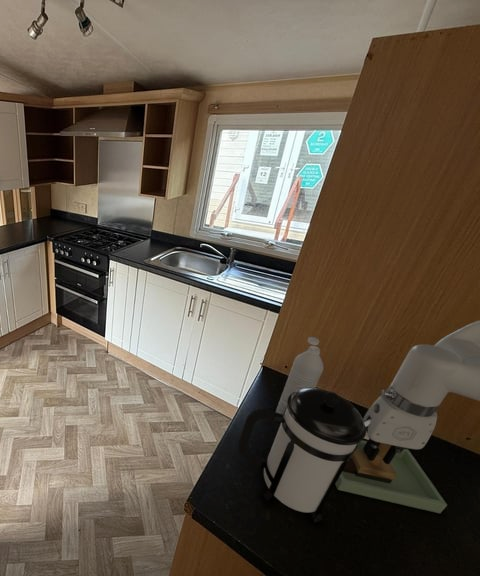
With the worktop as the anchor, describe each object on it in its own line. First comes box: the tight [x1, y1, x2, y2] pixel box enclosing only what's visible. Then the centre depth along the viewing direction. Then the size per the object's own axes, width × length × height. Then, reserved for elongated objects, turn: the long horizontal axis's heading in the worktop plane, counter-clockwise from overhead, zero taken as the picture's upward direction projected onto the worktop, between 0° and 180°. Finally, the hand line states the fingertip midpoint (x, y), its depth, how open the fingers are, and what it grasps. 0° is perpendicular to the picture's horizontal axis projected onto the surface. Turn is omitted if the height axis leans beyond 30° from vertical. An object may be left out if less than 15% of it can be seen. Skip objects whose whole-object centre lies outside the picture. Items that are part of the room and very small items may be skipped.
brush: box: [351, 443, 397, 484], centre depth 73 cm, size 7×5×10 cm
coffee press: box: [238, 387, 370, 525], centre depth 65 cm, size 17×16×30 cm
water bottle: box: [275, 336, 325, 417], centre depth 86 cm, size 9×6×25 cm
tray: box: [334, 439, 448, 514], centre depth 75 cm, size 20×14×3 cm
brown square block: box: [343, 458, 357, 474], centre depth 77 cm, size 4×4×2 cm
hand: (375, 456), depth 73 cm, fingers closed on brush, 2 cm apart
